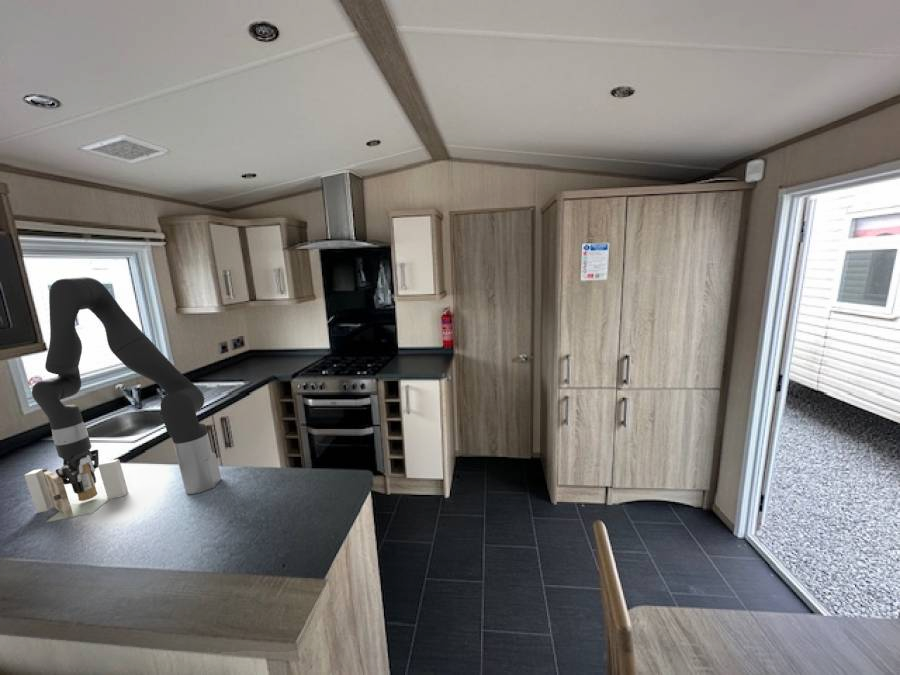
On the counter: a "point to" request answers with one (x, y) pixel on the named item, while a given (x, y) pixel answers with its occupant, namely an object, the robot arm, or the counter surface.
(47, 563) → the counter surface
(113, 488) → the wall
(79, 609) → the counter surface
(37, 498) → the hinge post
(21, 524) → the counter surface
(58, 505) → the door
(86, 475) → the sprinkles bottle
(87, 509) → the mat
